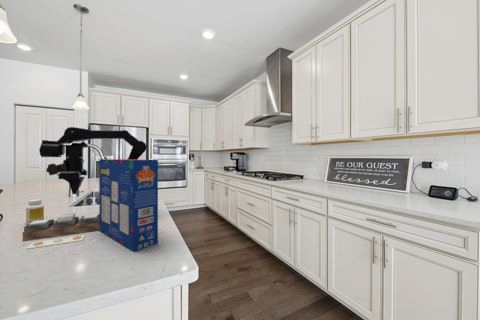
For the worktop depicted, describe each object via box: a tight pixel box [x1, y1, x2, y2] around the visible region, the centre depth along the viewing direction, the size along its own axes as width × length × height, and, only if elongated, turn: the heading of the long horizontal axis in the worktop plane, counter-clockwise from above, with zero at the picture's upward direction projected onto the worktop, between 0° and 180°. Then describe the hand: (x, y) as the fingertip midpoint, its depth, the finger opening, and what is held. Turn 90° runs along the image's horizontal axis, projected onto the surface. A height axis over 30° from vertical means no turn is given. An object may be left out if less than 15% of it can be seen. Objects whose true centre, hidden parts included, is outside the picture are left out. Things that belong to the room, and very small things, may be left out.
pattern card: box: [25, 234, 86, 250], centre depth 68 cm, size 14×5×1 cm, turn 119°
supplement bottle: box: [25, 198, 45, 225], centre depth 88 cm, size 5×5×10 cm
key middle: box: [56, 212, 76, 223], centre depth 76 cm, size 4×4×2 cm
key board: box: [22, 213, 100, 242], centre depth 76 cm, size 22×7×5 cm, turn 119°
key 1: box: [29, 218, 51, 226], centre depth 73 cm, size 4×4×2 cm
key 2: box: [82, 213, 98, 220], centre depth 80 cm, size 4×4×2 cm
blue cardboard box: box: [98, 158, 159, 253], centre depth 72 cm, size 28×8×28 cm, turn 52°
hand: (74, 194), depth 85 cm, fingers closed
